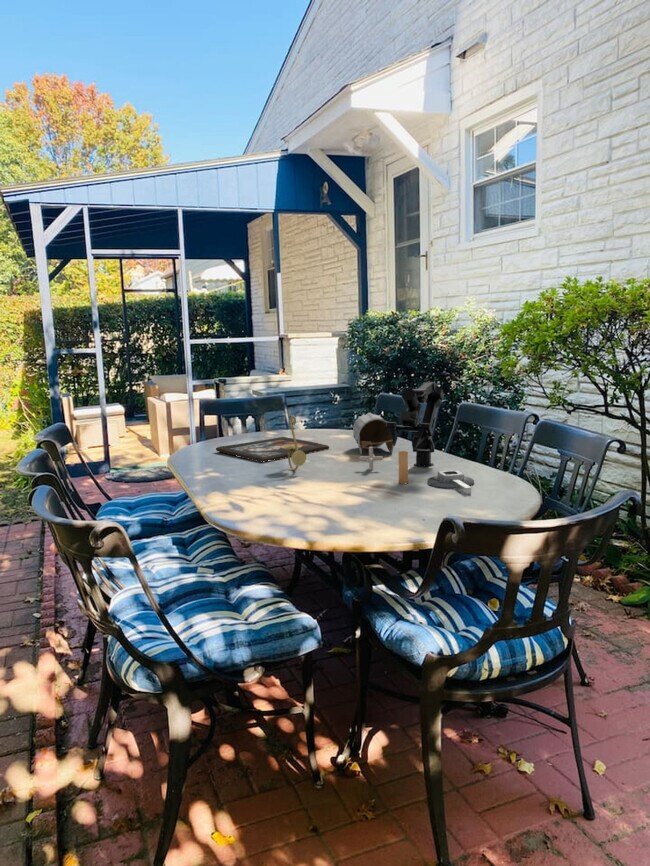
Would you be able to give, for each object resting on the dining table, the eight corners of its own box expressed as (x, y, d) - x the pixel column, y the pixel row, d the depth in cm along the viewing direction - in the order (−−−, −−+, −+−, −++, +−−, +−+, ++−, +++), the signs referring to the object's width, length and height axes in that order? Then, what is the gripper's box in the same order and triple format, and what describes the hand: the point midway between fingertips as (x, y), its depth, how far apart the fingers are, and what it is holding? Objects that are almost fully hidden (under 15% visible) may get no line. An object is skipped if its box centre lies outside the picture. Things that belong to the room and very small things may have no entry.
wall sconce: (310, 472, 280) (307, 415, 276) (289, 475, 276) (286, 417, 272) (298, 466, 293) (296, 411, 288) (279, 469, 289) (276, 413, 285)
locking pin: (403, 481, 259) (402, 450, 257) (409, 482, 256) (409, 452, 254) (397, 483, 257) (396, 452, 255) (404, 484, 254) (403, 453, 252)
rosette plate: (421, 479, 262) (421, 469, 261) (463, 476, 265) (463, 466, 264) (444, 496, 235) (444, 485, 235) (491, 492, 238) (491, 481, 238)
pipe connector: (381, 472, 276) (381, 449, 274) (358, 472, 278) (357, 449, 276) (384, 467, 285) (383, 445, 284) (361, 467, 287) (361, 444, 286)
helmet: (398, 457, 310) (385, 443, 339) (398, 419, 306) (384, 409, 335) (360, 459, 307) (350, 445, 336) (360, 421, 303) (349, 411, 333)
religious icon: (213, 453, 331) (213, 447, 331) (282, 441, 361) (282, 436, 360) (260, 464, 302) (260, 458, 301) (330, 450, 332) (330, 445, 331)
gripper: (386, 402, 267) (377, 433, 260) (430, 403, 259) (422, 436, 252) (393, 418, 276) (385, 449, 268) (436, 419, 268) (428, 451, 260)
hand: (404, 446), depth 262 cm, fingers open, 9 cm apart
